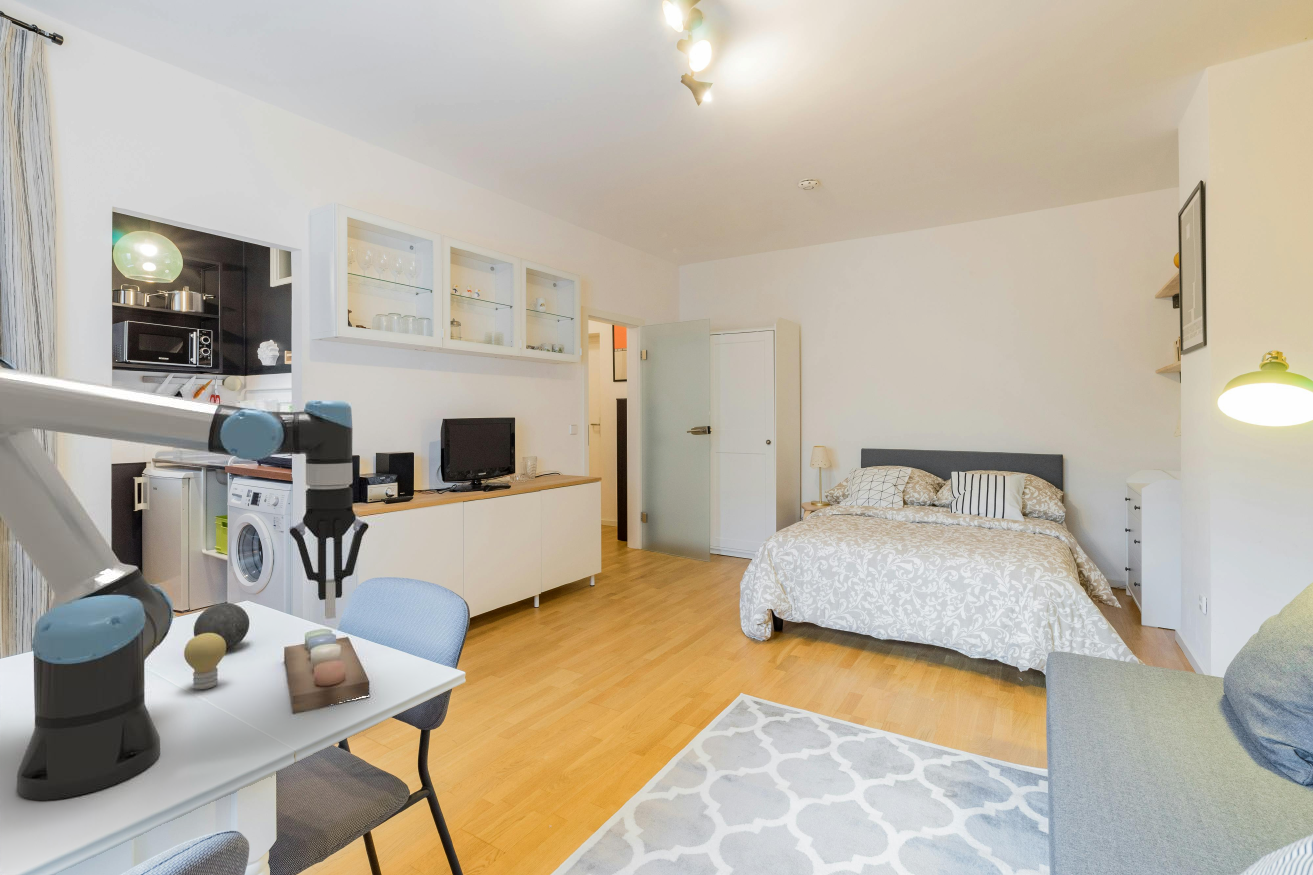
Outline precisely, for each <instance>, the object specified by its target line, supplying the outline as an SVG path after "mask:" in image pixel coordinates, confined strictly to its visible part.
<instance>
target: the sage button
mask: <svg viewBox="0 0 1313 875" xmlns="http://www.w3.org/2000/svg"><path fill="white" fill-rule="evenodd" d="M319 634H333V630H332V629H329V628H328V629H327V628H323V629H314V630H310V631H307V632H306V633H304V644H305V648H306V649H308V638H310V637H312V636H315V635H319Z"/></svg>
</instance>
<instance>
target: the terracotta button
mask: <svg viewBox="0 0 1313 875" xmlns="http://www.w3.org/2000/svg"><path fill="white" fill-rule="evenodd" d="M343 680H345V662H343V661H328V662H323V663H320V664H318V665H316V666H315V667H314V684H316V685H319V686H328V685H334V684H337V683H340V682H342V681H343Z"/></svg>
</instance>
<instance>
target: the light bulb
mask: <svg viewBox="0 0 1313 875" xmlns="http://www.w3.org/2000/svg"><path fill="white" fill-rule="evenodd" d="M226 651H227V650H226V643H225V640H224V639H223V638H222V637H221V636H220V635H218V634H215V633H204V634H200V635H198V636H195V637H194V636H193V637H192V638H190V640H188V642H187V643H186V644H185V647H184V650H183V657H184V659H185V661H186V663H187V665H189V666H190V667H191V668H192V669H193V673H192V676H193V680H192V682H193V684H192V685H193V686H192V687H193V688H194V689H196V690H200V691H201V690H207V689H210V688H213V687H214V686H216V685H217V684H218V681H219V679H218V676H219V675H218V671H219V670H218V667H217V666H218V665H219V664H220V662H221V661H222V660H223V658H224V656H225V654H226Z"/></svg>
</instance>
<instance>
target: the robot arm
mask: <svg viewBox="0 0 1313 875" xmlns="http://www.w3.org/2000/svg"><path fill="white" fill-rule="evenodd" d="M352 416H353V415H352V406H351V405H350V404H349V403H348V402H346V401H339V400H337V401H336V400H335V401H334V400H309V401H307V402H306V403H305V406H304V408H303V411H302V410H301V411H292V412H291V411H266V410H262V409H256V408H248V407H247V408H245V407H239V406H234V405H225V404H220V403H216V402H210V401H203V400H198V399H192V398H186V397H179V396H173V395H168V394H163V393H156V392H151V391H145V390H144V391H143V390H137V389H131V388H126V387H120V386H115V385H108V384H103V383H95V382H91V381H89V382H88V381H84V380H78V379H73V378H72V379H71V378H65V377H59V376H54V375H48V374H41V373H36V372H29V371H23V370H18V369H17V368H16V367H15V366H14V365H13V364H11V363H10V362H9V361H7V360H6V359H3V358H2V357H0V518H1V520H2V521H3V522H4V524H5V525H6V527H7V529H8V530H9V531H10V532H11V534H12V535H13V537H14V538H15V539H16V541H17V542H18V544H19V545H20V547H21V548H22V549H23V551H24V553H26V555H27V556H28V558H29V559H30V560H31V563H32V564H33V565H34V567H35V568H36V569H37V570H38V572H39V573H40V575H41V576H42V577H43V579H44V581H46V584H47V585H48V586H49V588H50V589H51V590H52V592H53V593H54V597H53V599H52V601H51V604H50V606H49V608H48V609H49V610H48V611H46V612H45V613H43V614H42V615H41V616H40V617H39V619H38V620H37V621H36V622H35V626H34V632H33V633H34V634H33V636H32V641H31V649H32V652H33V690H34V695H33V696H34V698H33V699H34V702H33V703H34V704H33V705H34V730H33V732H32V735H31V737H30V740H29V742H28V745H27V747H26V749H25V752H24V755H23V757H22V760H21V762H20V765H19V768H18V770H17V773H16V792H17V793H18V795H19V796H20V797H23V798H25V799H29V800H37V801H38V800H39V801H46V800H47V801H49V800H50V801H51V800H58V799H66V798H72V797H77V796H81V795H85V794H89V793H93V792H96V791H99V790H103V789H106V788H108V787H111V786H113V785H114V786H115V785H117V784H118V783H121V782H123V781H126V780H128V779H130V778H132V777H134V776H136V775H138V774H140V773H142V772H143V771H145V770H146V769H148V768H149V767H150V766H152V765H153V764H154V763H155V762H156V761H157V760H158V758H159V756H161V755H160V754H161V737H160V734H159V733H158V730H157V727H156V725H155V724H154V722H153V719H152V717H151V715H150V712H149V710H148V707H147V706H146V703H145V701H146V700H145V698H146V697H145V696H146V695H145V689H146V688H145V685H146V684H145V663H146V662H145V661H146V659H147V658H148V657H149V656H150V655H151V654H152V653H153V652H154V650H156V648H158V647H159V646H160V645H161V644H162V643H163V641H164V640H165V638H166V637H167V635H168V633H169V631H170V629H171V627H172V624H173V619H174V606H173V604H172V600H171V598H170V596H169V595H168V594H167V593H166V592H165V590H163V589H162V588H160V587H158V586H156V585H154V584H151V583H149V582H148V580H147V578H146V577H145V576H144V575H143V573H142V572H141V570H140V569H139V566H137V565H132V564H126V563H122V562H121V561H120V559H119V558H118V556H116V554H115V552H114V551H113V549H112V548H111V546H110V545H109V543H108V542H107V541H106V539H105V537H104V535H102V533H101V532H100V530H99V528H98V527H97V526H96V524H95V523H94V521H93V520H92V518H91V517H90V515H89V514H88V512H87V511H86V509H85V507H84V506H83V504H82V503H81V502H80V500H79V499H78V497H77V496H76V494H75V493H74V492H73V489H71V487H70V485H69V484H68V482H67V480H65V478H64V477H63V475H62V474H61V472H60V471H59V469H58V467H57V466H56V465H55V463H54V462H53V460H52V459H51V458H50V456H49V454H48V453H47V451H46V450H45V448H44V446H43V445H42V444H41V443H40V441H39V439H38V437H37V436H36V435H35V434H34V432H33V430H40V431H41V430H42V431H49V432H56V433H64V434H69V435H70V434H72V435H79V436H86V437H92V438H101V439H109V440H116V441H124V442H129V443H137V444H143V445H144V444H145V445H152V446H153V445H154V446H158V447H159V446H160V447H168V448H175V449H176V448H177V449H183V450H191V451H196V452H198V451H199V452H204V453H205V452H206V453H212V454H218V455H225V456H232V457H236V458H238V459H241V460H248V461H259V460H260V461H261V460H263V459H267V458H268V457H270V456H272V455H302V454H304V455H305V485H306V486H308V488H307V489H305V513H304V515H303V517H302V521H301V522H300V523H297V524H296V525H295V526H294V525H293V526H291V527H289V534H290V535H291V537H292V538H293V539H294V540H295V542H296V544H297V547H298V548H297V549H298V551H299V553H300V558H301V561H302V565H303V568H304V572H305V575H306V578H307V580H308V581H315V582H317V597H318V600H319V601H324V616H325V619H326V620H329V619H335V618H336V613H337V612H336V599H339V598H342V596H343V580H344V579H346V578H347V577H350V576H353V574H354V572H355V567H356V564H357V560H358V554H359V552H360V547H361V544H362V540H363V536H364V535H365V534H366V532H367V530H368V529H369V527H370V526H369V524H368V523H367V522H366V521H362V520H361V519H358V518H357V516H356V514H355V512H354V510H353V507H354V506H353V505H354V504H353V503H354V502H353V501H354V500H353V495H354V494H353V488H352V487H351V486H350V485H352V484H353V481H354V480H353V418H352ZM352 525H353V527H352V529H353V531H354V532H353V537H352V539H351V543H350V548H349V550H348V551H349V552H348V555H347V559H346V562H345V567H344V569H343V537H344V536H345V535H346V533H347V531H348V530H349V529H350V528H351V526H352ZM306 528H307V529H308V530H309V532H310V533H312V535H313V536H314V537H316V538H317V572H316V571H314V569H313V565H312V562H311V558H310V554H309V551H308V548H307V544H306V541H305V539H304V536H305V535H306ZM330 538H331V539H332V542H333V578H330V579H329V578H327V539H330Z"/></svg>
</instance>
